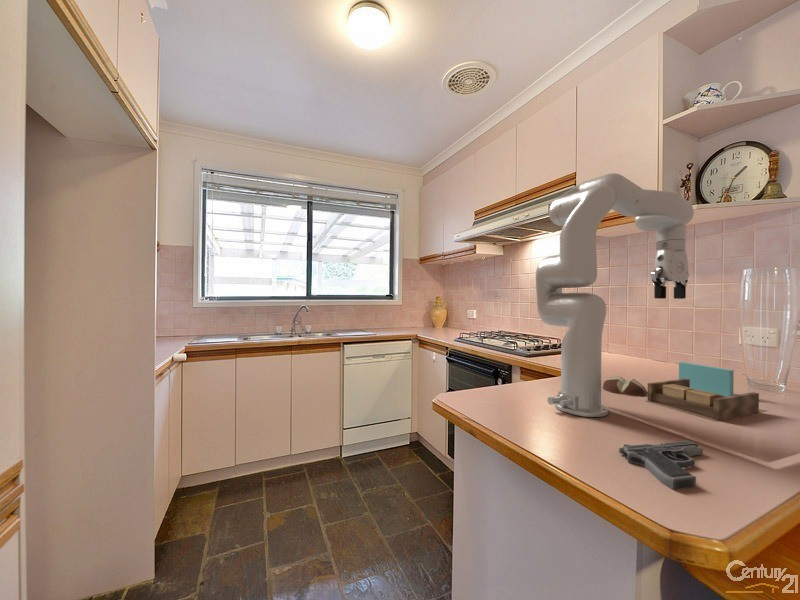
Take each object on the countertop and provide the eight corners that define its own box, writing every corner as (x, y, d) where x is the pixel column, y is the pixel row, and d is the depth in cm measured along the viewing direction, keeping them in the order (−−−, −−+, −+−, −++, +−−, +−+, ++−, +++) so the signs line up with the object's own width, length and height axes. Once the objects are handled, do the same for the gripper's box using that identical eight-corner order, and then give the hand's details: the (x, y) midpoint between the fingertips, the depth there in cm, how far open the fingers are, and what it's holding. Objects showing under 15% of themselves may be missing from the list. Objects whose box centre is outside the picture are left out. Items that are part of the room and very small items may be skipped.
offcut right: (709, 416, 80) (709, 395, 80) (686, 409, 85) (686, 390, 85) (719, 414, 82) (719, 394, 82) (695, 407, 86) (695, 389, 86)
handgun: (758, 468, 54) (683, 436, 66) (672, 477, 51) (609, 442, 63) (757, 482, 54) (683, 448, 66) (671, 493, 51) (609, 455, 63)
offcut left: (683, 408, 85) (683, 389, 85) (662, 402, 90) (662, 385, 90) (692, 407, 87) (693, 388, 87) (671, 401, 92) (672, 383, 91)
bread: (609, 387, 110) (609, 372, 110) (650, 395, 101) (650, 379, 101) (596, 393, 103) (596, 377, 103) (638, 402, 94) (639, 385, 94)
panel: (678, 389, 108) (729, 401, 96) (678, 362, 108) (729, 370, 96) (682, 388, 109) (733, 400, 96) (682, 362, 109) (733, 370, 96)
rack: (715, 425, 77) (716, 400, 77) (645, 404, 92) (645, 383, 92) (767, 414, 84) (767, 391, 84) (694, 397, 99) (694, 377, 99)
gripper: (665, 243, 101) (665, 298, 101) (700, 246, 106) (700, 298, 107) (640, 247, 108) (640, 298, 108) (674, 250, 114) (674, 298, 114)
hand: (670, 298), depth 107 cm, fingers open, 9 cm apart
